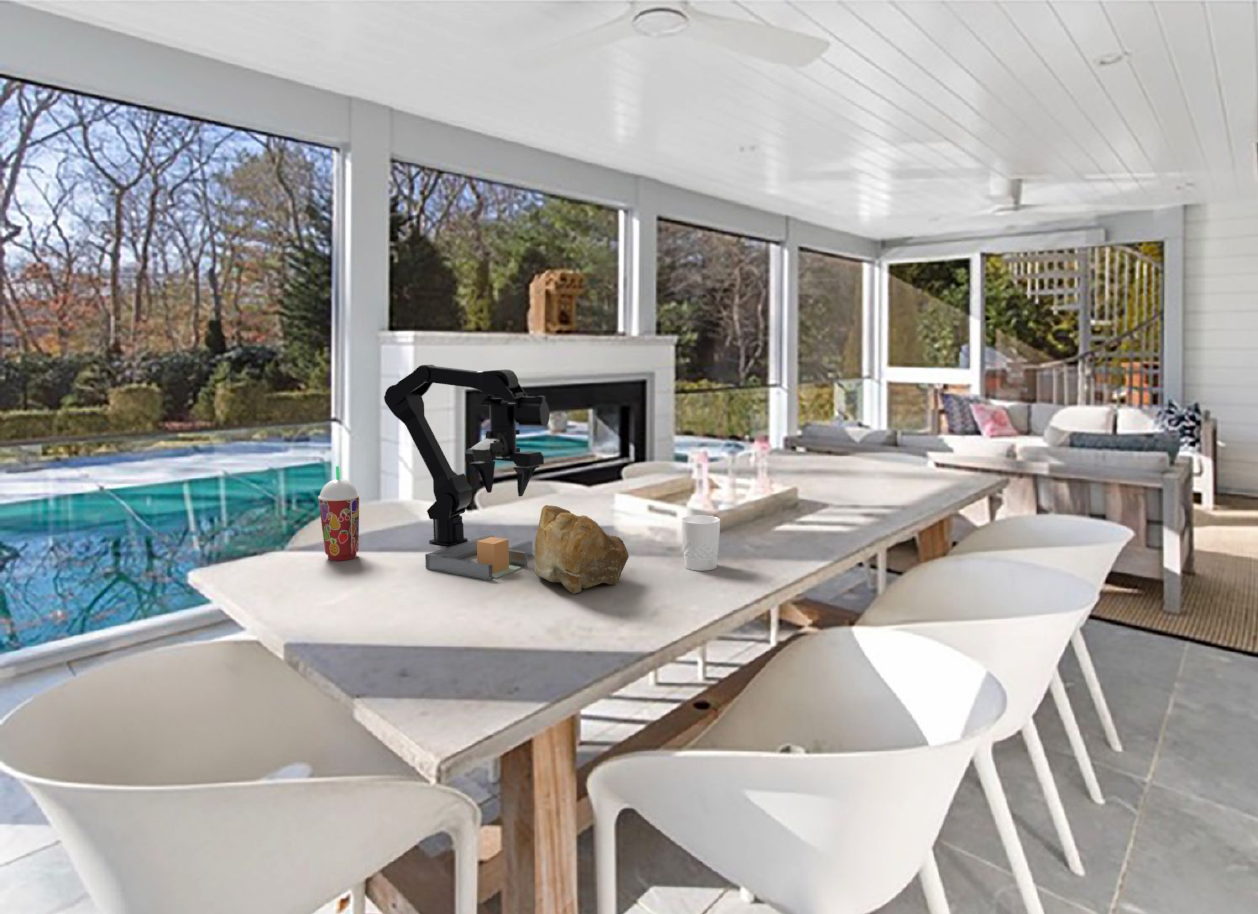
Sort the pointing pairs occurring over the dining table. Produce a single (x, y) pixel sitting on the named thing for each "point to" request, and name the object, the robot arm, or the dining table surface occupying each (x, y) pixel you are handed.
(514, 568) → the pad
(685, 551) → the white cup
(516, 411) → the robot arm
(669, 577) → the dining table surface
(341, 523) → the smoothie
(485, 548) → the orange block
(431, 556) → the steel rail course
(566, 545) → the rough brown rock
